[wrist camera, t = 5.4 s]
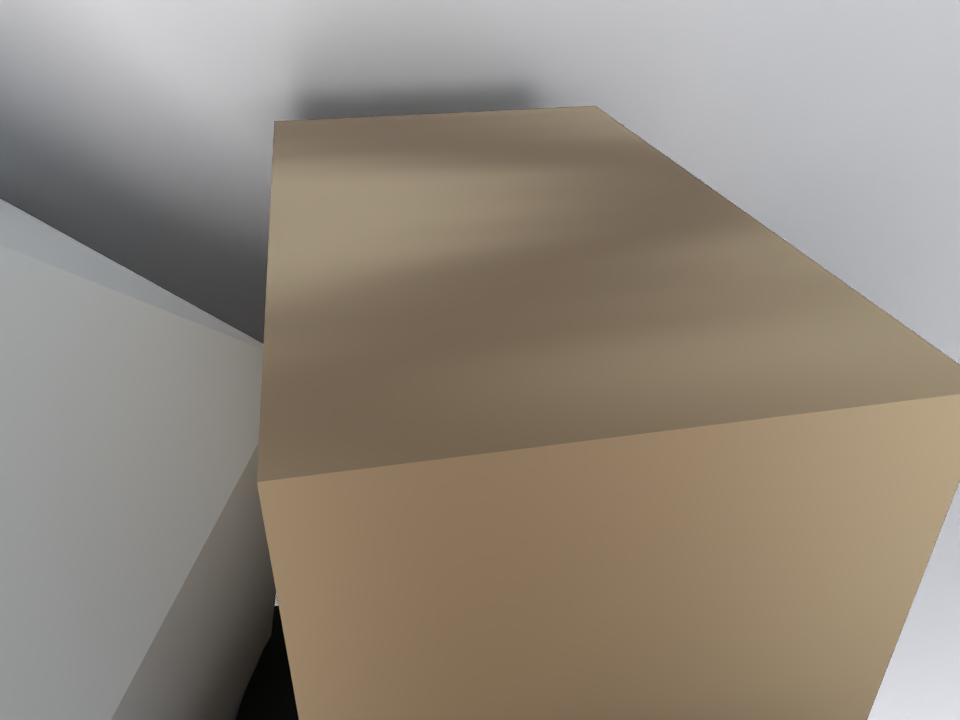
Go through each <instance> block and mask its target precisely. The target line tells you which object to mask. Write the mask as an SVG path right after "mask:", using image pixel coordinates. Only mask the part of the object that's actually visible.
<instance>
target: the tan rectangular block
mask: <svg viewBox="0 0 960 720" xmlns="http://www.w3.org/2000/svg"><path fill="white" fill-rule="evenodd" d="M959 481H960V364H958V363H957V362H955V361H954V360H952V359H951V358H950V357H948V356H947V355H945V354H944V353H943V352H941V351H940V350H938V349H937V348H936V347H934V346H933V345H931V344H930V343H929V342H927V341H926V340H924V339H923V338H922V337H920V336H919V335H917V334H916V333H914V332H913V331H912V330H910V329H909V328H907V327H906V326H905V325H903V324H902V323H900V322H899V321H898V320H896V319H895V318H893V317H892V316H891V315H889V314H888V313H886V312H885V311H884V310H882V309H881V308H879V307H878V306H876V305H875V304H874V303H872V302H871V301H869V300H868V299H867V298H865V297H864V296H862V295H861V294H860V293H858V292H857V291H855V290H854V289H853V288H851V287H850V286H848V285H847V284H845V283H844V282H843V281H841V280H840V279H838V278H837V277H836V276H834V275H833V274H831V273H830V272H829V271H827V270H826V269H824V268H823V267H822V266H820V265H819V264H817V263H816V262H815V261H813V260H812V259H810V258H809V257H807V256H806V255H805V254H803V253H802V252H800V251H799V250H798V249H796V248H795V247H793V246H792V245H791V244H789V243H788V242H786V241H785V240H784V239H782V238H781V237H779V236H778V235H777V234H775V233H774V232H772V231H771V230H769V229H768V228H767V227H765V226H764V225H762V224H761V223H760V222H758V221H757V220H755V219H754V218H753V217H751V216H750V215H748V214H747V213H746V212H744V211H743V210H741V209H740V208H738V207H737V206H736V205H734V204H733V203H731V202H730V201H729V200H727V199H726V198H724V197H723V196H722V195H720V194H719V193H717V192H716V191H715V190H713V189H712V188H710V187H709V186H708V185H706V184H705V183H703V182H702V181H700V180H699V179H698V178H696V177H695V176H693V175H692V174H691V173H689V172H688V171H686V170H685V169H684V168H682V167H681V166H679V165H678V164H677V163H675V162H674V161H672V160H671V159H669V158H668V157H667V156H665V155H664V154H662V153H661V152H660V151H658V150H657V149H655V148H654V147H653V146H651V145H650V144H648V143H647V142H646V141H644V140H643V139H641V138H640V137H639V136H637V135H636V134H634V133H633V132H631V131H630V130H629V129H627V128H626V127H624V126H623V125H622V124H620V123H619V122H617V121H616V120H615V119H613V118H612V117H610V116H609V115H608V114H606V113H605V112H603V111H602V110H601V109H599V108H598V107H596V106H582V107H561V108H541V109H520V110H499V111H479V112H458V113H438V114H417V115H396V116H376V117H355V118H335V119H314V120H293V121H274V141H273V161H272V181H271V202H270V222H269V243H268V263H267V283H266V304H265V324H264V344H263V365H262V385H261V405H260V426H259V446H258V466H257V486H258V492H259V498H260V503H261V509H262V515H263V520H264V526H265V532H266V537H267V543H268V548H269V554H270V560H271V565H272V571H273V577H274V582H275V588H276V593H277V599H278V605H279V610H280V616H281V622H282V627H283V633H284V638H285V644H286V650H287V655H288V661H289V667H290V672H291V678H292V683H293V689H294V695H295V700H296V706H297V712H298V717H299V720H867V718H868V716H869V713H870V711H871V708H872V706H873V703H874V700H875V698H876V695H877V693H878V690H879V687H880V685H881V682H882V680H883V677H884V675H885V672H886V669H887V667H888V664H889V662H890V659H891V657H892V654H893V651H894V649H895V646H896V644H897V641H898V638H899V636H900V633H901V631H902V628H903V626H904V623H905V620H906V618H907V615H908V613H909V610H910V607H911V605H912V602H913V600H914V597H915V595H916V592H917V589H918V587H919V584H920V582H921V579H922V577H923V574H924V571H925V569H926V566H927V564H928V561H929V558H930V556H931V553H932V551H933V548H934V546H935V543H936V540H937V538H938V535H939V533H940V530H941V528H942V525H943V522H944V520H945V517H946V515H947V512H948V509H949V507H950V504H951V502H952V499H953V497H954V494H955V491H956V489H957V486H958V484H959Z"/></svg>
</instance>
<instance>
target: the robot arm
mask: <svg viewBox="0 0 960 720" xmlns="http://www.w3.org/2000/svg"><path fill="white" fill-rule="evenodd" d="M236 720H299V717H298V712H297V706H296V700H295V695H294V689H293V683H292V678H291V672H290V667H289V661H288V655H287V650H286V644H285V638H284V633H283V627H282V622H281V616H280V610H279V606H274V613H273V623H272V632H271V637H270V638H269V640H268V642H267V644H266V646H265V647H264V649H263V651H262V654H261V656H260V658H259V661H258V663H257V665H256V668H255V670H254V672H253V674H252V677H251V679H250V681H249V684H248V686H247V688H246V690H245V693H244V695H243V699H242V702H241V705H240V708H239V711H238V714H237V717H236Z"/></svg>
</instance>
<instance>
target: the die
mask: <svg viewBox="0 0 960 720" xmlns="http://www.w3.org/2000/svg"><path fill="white" fill-rule="evenodd" d="M262 365H263V343H261V342H259V341H257V340H255V339H254V338H252V337H250V336H248V335H246V334H245V333H243V332H241V331H239V330H237V329H236V328H234V327H232V326H230V325H228V324H227V323H225V322H223V321H221V320H219V319H217V318H216V317H214V316H212V315H210V314H208V313H207V312H205V311H203V310H201V309H199V308H198V307H196V306H194V305H192V304H190V303H189V302H187V301H185V300H183V299H181V298H179V297H178V296H176V295H174V294H172V293H170V292H169V291H167V290H165V289H163V288H161V287H160V286H158V285H156V284H154V283H152V282H151V281H149V280H147V279H145V278H143V277H141V276H140V275H138V274H136V273H134V272H132V271H131V270H129V269H127V268H125V267H123V266H122V265H120V264H118V263H116V262H114V261H113V260H111V259H109V258H107V257H105V256H103V255H102V254H100V253H98V252H96V251H94V250H93V249H91V248H89V247H87V246H85V245H84V244H82V243H80V242H78V241H76V240H75V239H73V238H71V237H69V236H67V235H65V234H64V233H62V232H60V231H58V230H56V229H55V228H53V227H51V226H49V225H47V224H46V223H44V222H42V221H40V220H38V219H37V218H35V217H33V216H31V215H29V214H27V213H26V212H24V211H22V210H20V209H18V208H17V207H15V206H13V205H11V204H9V203H8V202H6V201H4V200H2V199H0V720H236V717H237V714H238V711H239V708H240V705H241V702H242V699H243V695H244V693H245V690H246V688H247V686H248V684H249V681H250V679H251V677H252V674H253V672H254V670H255V668H256V665H257V663H258V661H259V658H260V656H261V654H262V651H263V649H264V647H265V646H266V644H267V642H268V640H269V638H270V637H271V632H272V623H273V613H274V604H275V595H276V588H275V582H274V577H273V571H272V565H271V560H270V554H269V548H268V543H267V537H266V532H265V526H264V520H263V515H262V509H261V503H260V498H259V492H258V486H257V466H258V446H259V426H260V405H261V385H262Z"/></svg>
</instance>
